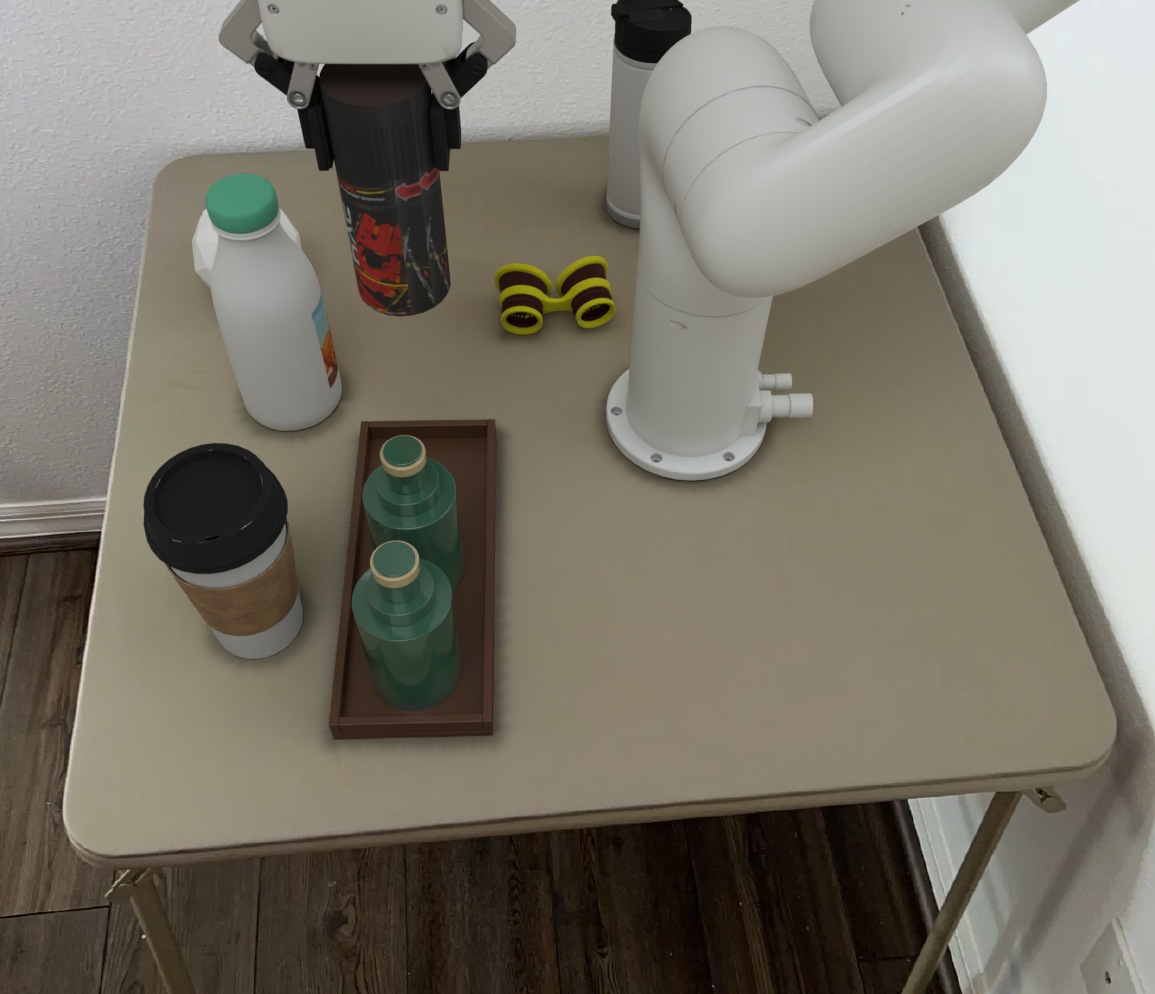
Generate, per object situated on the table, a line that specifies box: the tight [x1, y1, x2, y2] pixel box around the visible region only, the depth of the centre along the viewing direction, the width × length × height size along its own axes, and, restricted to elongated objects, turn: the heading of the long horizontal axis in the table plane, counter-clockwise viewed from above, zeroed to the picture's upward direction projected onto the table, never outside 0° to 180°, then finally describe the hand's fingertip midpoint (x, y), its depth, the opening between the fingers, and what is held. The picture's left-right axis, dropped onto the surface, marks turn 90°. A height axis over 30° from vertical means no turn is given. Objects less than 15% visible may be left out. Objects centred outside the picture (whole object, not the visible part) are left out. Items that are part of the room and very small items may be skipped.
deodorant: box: [318, 64, 452, 318], centre depth 67 cm, size 6×6×15 cm
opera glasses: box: [493, 255, 617, 336], centre depth 94 cm, size 10×5×5 cm, turn 99°
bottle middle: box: [362, 435, 465, 592], centre depth 74 cm, size 6×6×13 cm
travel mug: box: [605, 0, 693, 230], centre depth 97 cm, size 6×7×20 cm
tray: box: [328, 418, 497, 740], centre depth 79 cm, size 10×25×2 cm, turn 2°
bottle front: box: [352, 541, 462, 711], centre depth 70 cm, size 6×6×13 cm
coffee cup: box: [142, 442, 304, 660], centre depth 72 cm, size 8×8×15 cm
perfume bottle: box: [191, 208, 302, 290], centre depth 95 cm, size 9×9×12 cm
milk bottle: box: [204, 172, 343, 432], centre depth 82 cm, size 8×8×20 cm
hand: (386, 153), depth 65 cm, fingers closed on deodorant, 6 cm apart
